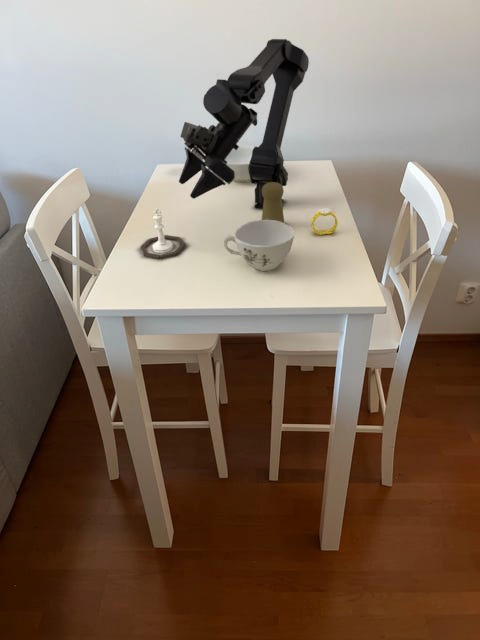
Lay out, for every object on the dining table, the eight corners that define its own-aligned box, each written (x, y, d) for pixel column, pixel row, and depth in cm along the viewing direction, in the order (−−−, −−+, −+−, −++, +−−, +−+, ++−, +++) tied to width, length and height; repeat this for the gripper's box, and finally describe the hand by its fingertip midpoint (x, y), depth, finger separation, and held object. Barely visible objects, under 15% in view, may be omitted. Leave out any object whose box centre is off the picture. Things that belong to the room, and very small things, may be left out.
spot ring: (191, 241, 113) (190, 238, 113) (171, 261, 106) (171, 259, 105) (155, 235, 116) (154, 233, 116) (133, 254, 109) (133, 252, 109)
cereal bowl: (271, 186, 137) (271, 162, 133) (215, 188, 138) (213, 165, 133) (269, 166, 150) (269, 143, 146) (218, 168, 151) (216, 146, 147)
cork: (288, 223, 118) (289, 181, 111) (279, 233, 114) (279, 190, 107) (266, 219, 120) (265, 178, 113) (256, 230, 116) (255, 187, 109)
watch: (335, 230, 114) (337, 207, 110) (337, 235, 112) (339, 212, 108) (310, 231, 114) (311, 208, 110) (312, 236, 112) (313, 213, 108)
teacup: (294, 250, 107) (295, 218, 102) (292, 280, 97) (293, 246, 92) (230, 249, 109) (227, 217, 104) (221, 278, 99) (218, 245, 94)
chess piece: (169, 253, 109) (163, 213, 102) (149, 252, 110) (142, 212, 103) (176, 243, 112) (170, 204, 106) (156, 242, 113) (149, 203, 107)
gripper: (188, 97, 103) (147, 156, 107) (215, 117, 89) (168, 184, 93) (224, 129, 110) (184, 183, 114) (255, 152, 96) (208, 213, 100)
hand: (185, 190), depth 105 cm, fingers open, 9 cm apart
